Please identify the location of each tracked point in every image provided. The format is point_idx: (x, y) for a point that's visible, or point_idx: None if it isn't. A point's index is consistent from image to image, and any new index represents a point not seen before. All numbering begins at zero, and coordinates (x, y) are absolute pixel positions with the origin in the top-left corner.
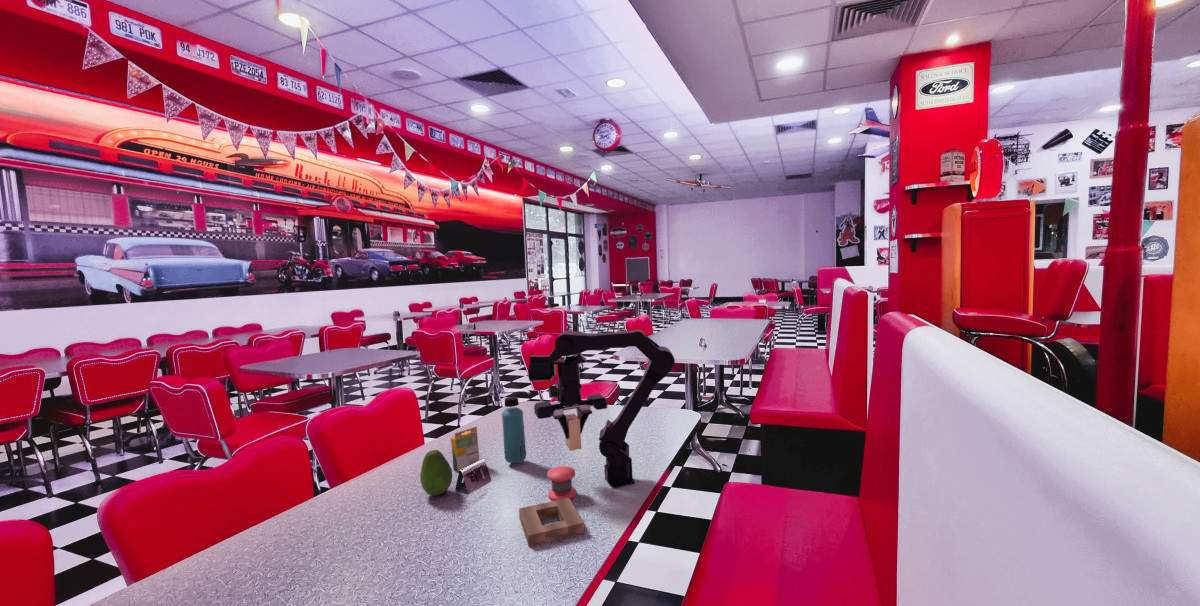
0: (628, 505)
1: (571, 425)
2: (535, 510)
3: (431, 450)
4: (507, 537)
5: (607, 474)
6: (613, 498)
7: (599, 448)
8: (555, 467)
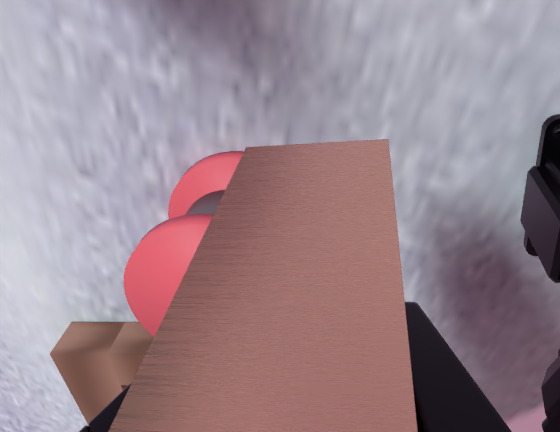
0: (511, 383)
1: None
2: (118, 385)
3: None
4: (57, 390)
5: (537, 249)
6: (478, 322)
7: (548, 408)
8: (174, 230)
